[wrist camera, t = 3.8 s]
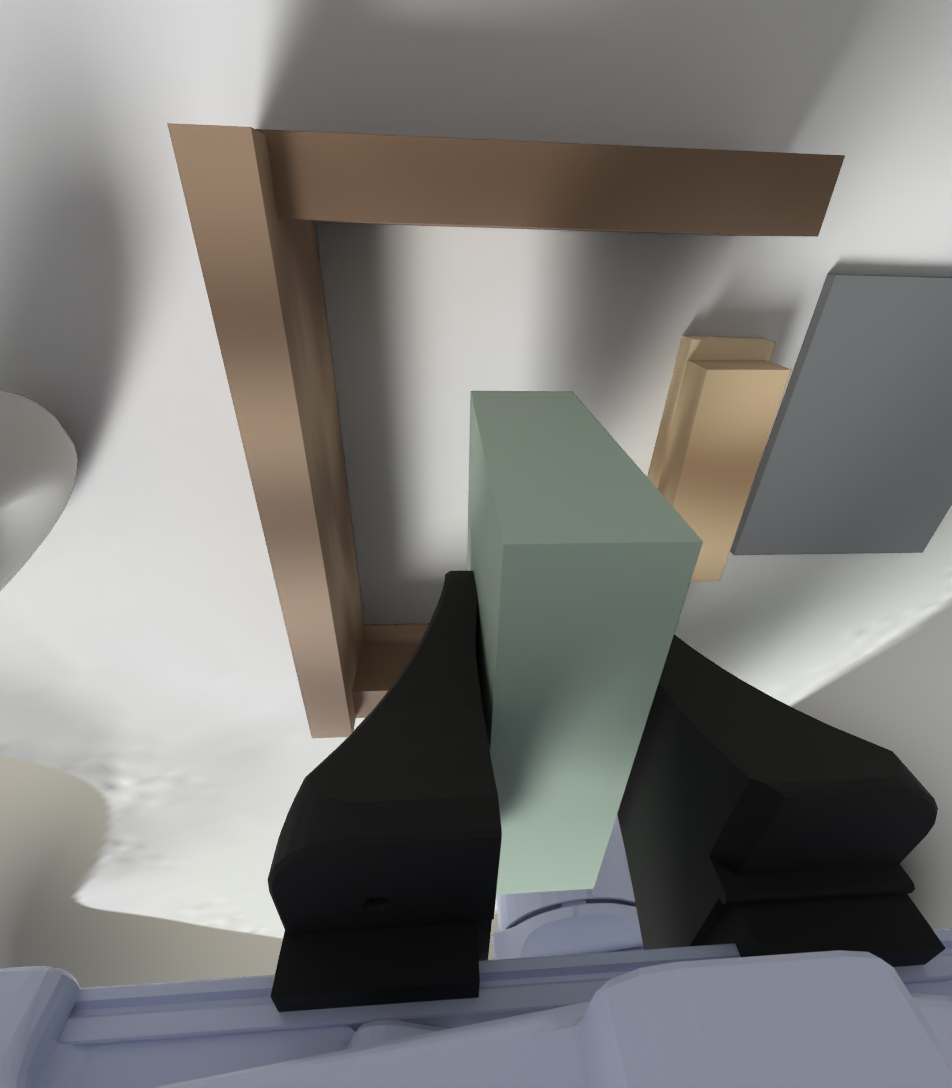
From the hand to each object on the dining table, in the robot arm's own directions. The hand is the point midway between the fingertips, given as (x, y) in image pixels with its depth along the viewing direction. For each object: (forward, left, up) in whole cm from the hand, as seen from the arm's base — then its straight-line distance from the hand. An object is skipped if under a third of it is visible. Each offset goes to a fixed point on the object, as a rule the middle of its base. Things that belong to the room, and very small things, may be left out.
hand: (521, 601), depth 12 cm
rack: (0, 0, -8) cm, 8 cm away
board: (0, 0, -2) cm, 2 cm away
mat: (+2, -15, -8) cm, 18 cm away
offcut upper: (0, -8, -8) cm, 11 cm away
